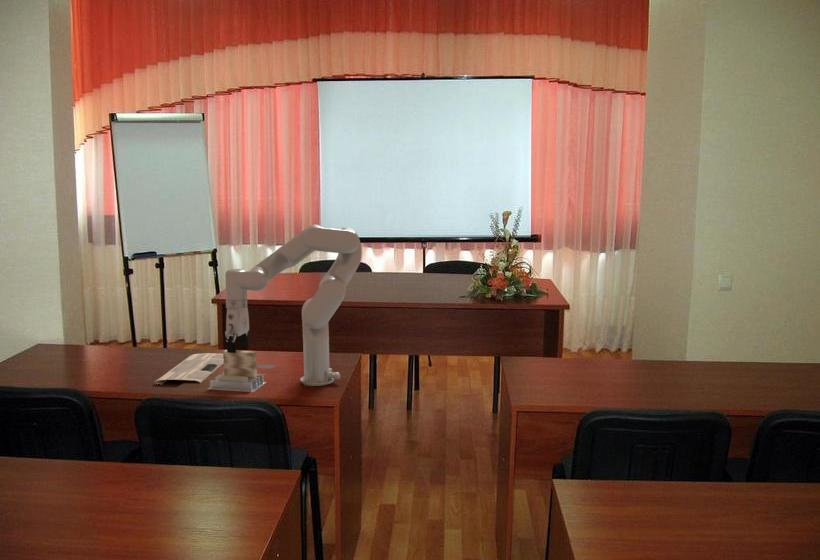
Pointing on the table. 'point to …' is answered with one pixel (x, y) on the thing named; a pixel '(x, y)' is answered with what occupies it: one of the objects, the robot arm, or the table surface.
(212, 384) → the slot rack
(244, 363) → the birch sheet
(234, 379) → the offcut block
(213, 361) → the newspaper
